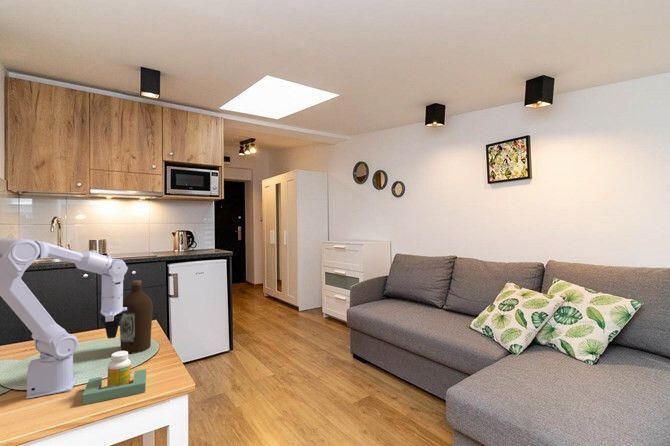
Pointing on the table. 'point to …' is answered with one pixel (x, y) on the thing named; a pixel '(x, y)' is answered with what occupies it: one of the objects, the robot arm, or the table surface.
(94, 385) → the green u-shaped block
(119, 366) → the supplement bottle
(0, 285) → the robot arm
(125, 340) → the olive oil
